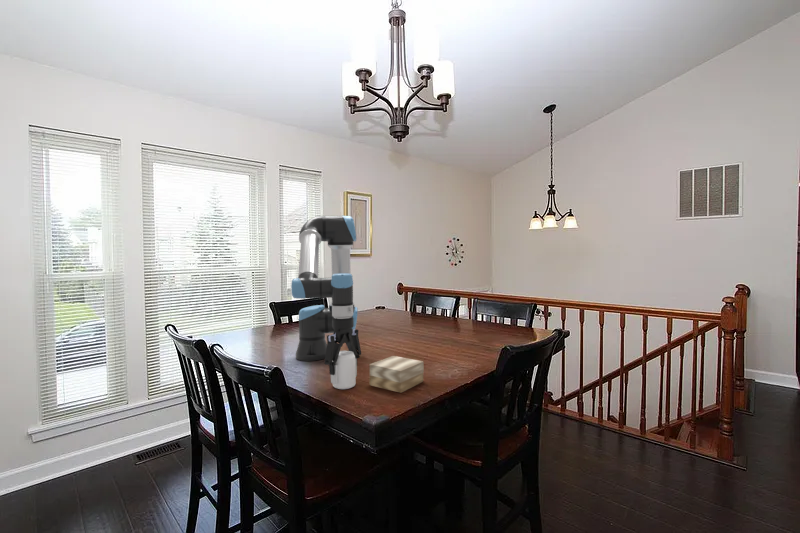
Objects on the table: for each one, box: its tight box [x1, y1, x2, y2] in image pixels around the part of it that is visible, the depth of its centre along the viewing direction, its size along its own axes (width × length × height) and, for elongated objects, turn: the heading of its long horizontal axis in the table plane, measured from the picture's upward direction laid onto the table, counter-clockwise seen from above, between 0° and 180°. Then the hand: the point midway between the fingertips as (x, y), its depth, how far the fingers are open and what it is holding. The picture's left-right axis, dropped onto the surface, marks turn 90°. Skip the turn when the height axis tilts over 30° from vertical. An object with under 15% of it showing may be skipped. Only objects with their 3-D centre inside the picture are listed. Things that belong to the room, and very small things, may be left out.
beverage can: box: [332, 350, 357, 390], centre depth 138 cm, size 8×8×12 cm
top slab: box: [369, 355, 425, 383], centre depth 141 cm, size 14×14×4 cm
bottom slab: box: [369, 372, 424, 394], centre depth 141 cm, size 14×14×4 cm
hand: (344, 379), depth 138 cm, fingers open, 9 cm apart
